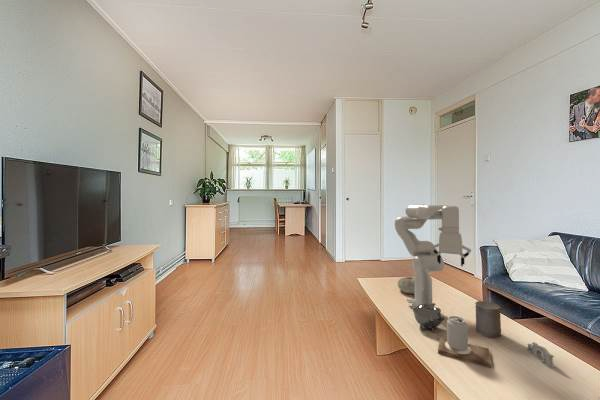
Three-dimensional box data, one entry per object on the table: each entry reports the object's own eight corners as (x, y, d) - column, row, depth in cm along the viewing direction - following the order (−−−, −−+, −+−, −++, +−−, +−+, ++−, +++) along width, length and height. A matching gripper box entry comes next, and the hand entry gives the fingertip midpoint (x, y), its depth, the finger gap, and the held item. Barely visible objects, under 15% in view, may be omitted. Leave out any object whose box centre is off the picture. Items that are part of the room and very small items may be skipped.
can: (471, 352, 104) (470, 323, 104) (451, 351, 106) (450, 322, 106) (463, 342, 111) (462, 315, 111) (444, 341, 113) (444, 314, 113)
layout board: (437, 353, 107) (437, 349, 107) (440, 339, 117) (440, 336, 117) (491, 367, 97) (491, 363, 97) (488, 352, 107) (488, 348, 107)
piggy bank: (448, 334, 122) (448, 310, 122) (415, 331, 125) (415, 308, 125) (440, 323, 133) (439, 301, 133) (409, 321, 136) (409, 299, 136)
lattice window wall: (526, 350, 108) (526, 336, 108) (531, 351, 108) (531, 337, 108) (549, 368, 97) (548, 353, 97) (554, 369, 96) (554, 353, 96)
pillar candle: (496, 329, 126) (495, 299, 126) (504, 339, 116) (503, 307, 117) (473, 326, 129) (472, 297, 129) (479, 336, 120) (478, 304, 120)
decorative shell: (395, 287, 189) (394, 273, 189) (420, 288, 186) (420, 274, 186) (401, 296, 171) (401, 281, 171) (429, 297, 169) (429, 282, 169)
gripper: (430, 230, 129) (430, 263, 129) (471, 232, 120) (471, 268, 120) (431, 228, 135) (432, 260, 135) (470, 230, 126) (471, 265, 126)
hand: (450, 264), depth 128 cm, fingers open, 9 cm apart
